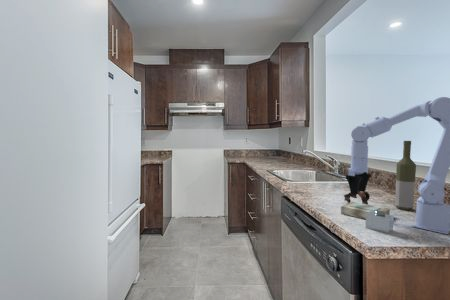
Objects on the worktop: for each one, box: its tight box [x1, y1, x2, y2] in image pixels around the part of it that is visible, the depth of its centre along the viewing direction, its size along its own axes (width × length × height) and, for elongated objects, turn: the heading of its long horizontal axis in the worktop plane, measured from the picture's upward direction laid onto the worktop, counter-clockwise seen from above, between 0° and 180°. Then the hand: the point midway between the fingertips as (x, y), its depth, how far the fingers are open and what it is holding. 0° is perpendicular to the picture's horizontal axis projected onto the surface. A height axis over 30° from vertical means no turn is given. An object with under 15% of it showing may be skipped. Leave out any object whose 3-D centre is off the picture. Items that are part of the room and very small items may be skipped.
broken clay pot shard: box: [343, 190, 371, 205], centre depth 119 cm, size 12×10×8 cm
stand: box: [340, 201, 391, 220], centre depth 103 cm, size 14×12×3 cm
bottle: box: [395, 140, 417, 211], centre depth 112 cm, size 7×7×30 cm
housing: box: [364, 210, 394, 234], centre depth 86 cm, size 7×4×6 cm, turn 43°
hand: (357, 192), depth 100 cm, fingers open, 7 cm apart
